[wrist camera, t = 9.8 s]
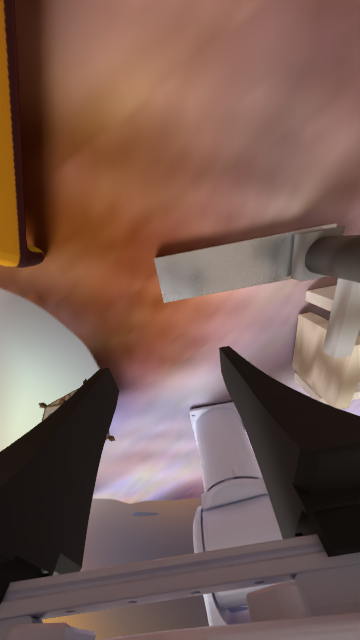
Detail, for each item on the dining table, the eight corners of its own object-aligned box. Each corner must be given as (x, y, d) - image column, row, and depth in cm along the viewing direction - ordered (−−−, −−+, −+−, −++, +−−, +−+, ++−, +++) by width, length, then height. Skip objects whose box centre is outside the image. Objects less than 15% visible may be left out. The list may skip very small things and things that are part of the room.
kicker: (302, 364, 24) (371, 427, 16) (275, 369, 24) (330, 434, 16) (325, 227, 16) (472, 213, 9) (286, 234, 17) (396, 228, 9)
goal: (356, 367, 25) (409, 403, 19) (293, 378, 25) (328, 416, 20) (388, 275, 19) (474, 289, 14) (306, 290, 19) (360, 309, 14)
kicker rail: (318, 270, 19) (327, 272, 17) (164, 299, 19) (164, 302, 18) (326, 224, 17) (337, 223, 16) (155, 257, 17) (154, 258, 16)
